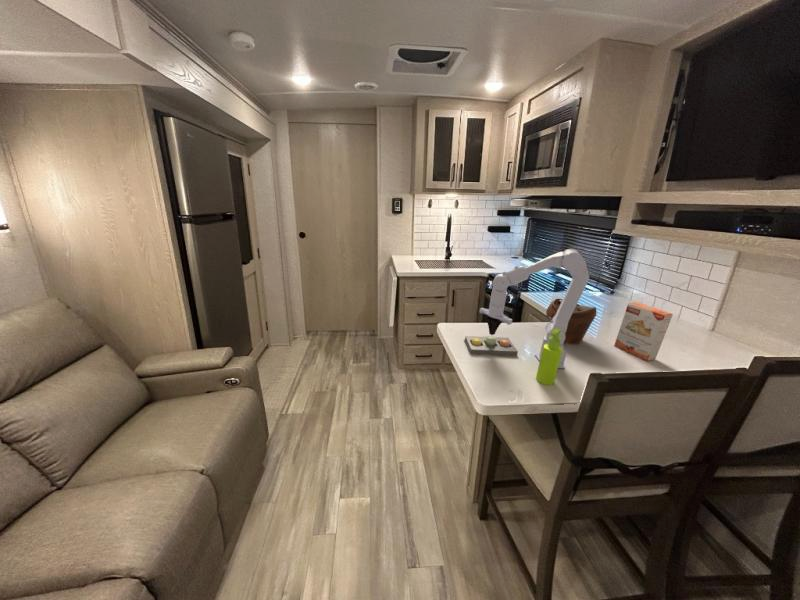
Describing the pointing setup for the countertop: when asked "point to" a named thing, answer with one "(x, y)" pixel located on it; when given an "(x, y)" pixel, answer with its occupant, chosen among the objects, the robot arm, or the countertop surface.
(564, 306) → the robot arm
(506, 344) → the button
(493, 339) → the button mid
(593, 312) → the brown basket
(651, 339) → the cracker box
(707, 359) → the countertop surface
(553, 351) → the soap dispenser
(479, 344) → the button
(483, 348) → the panel
